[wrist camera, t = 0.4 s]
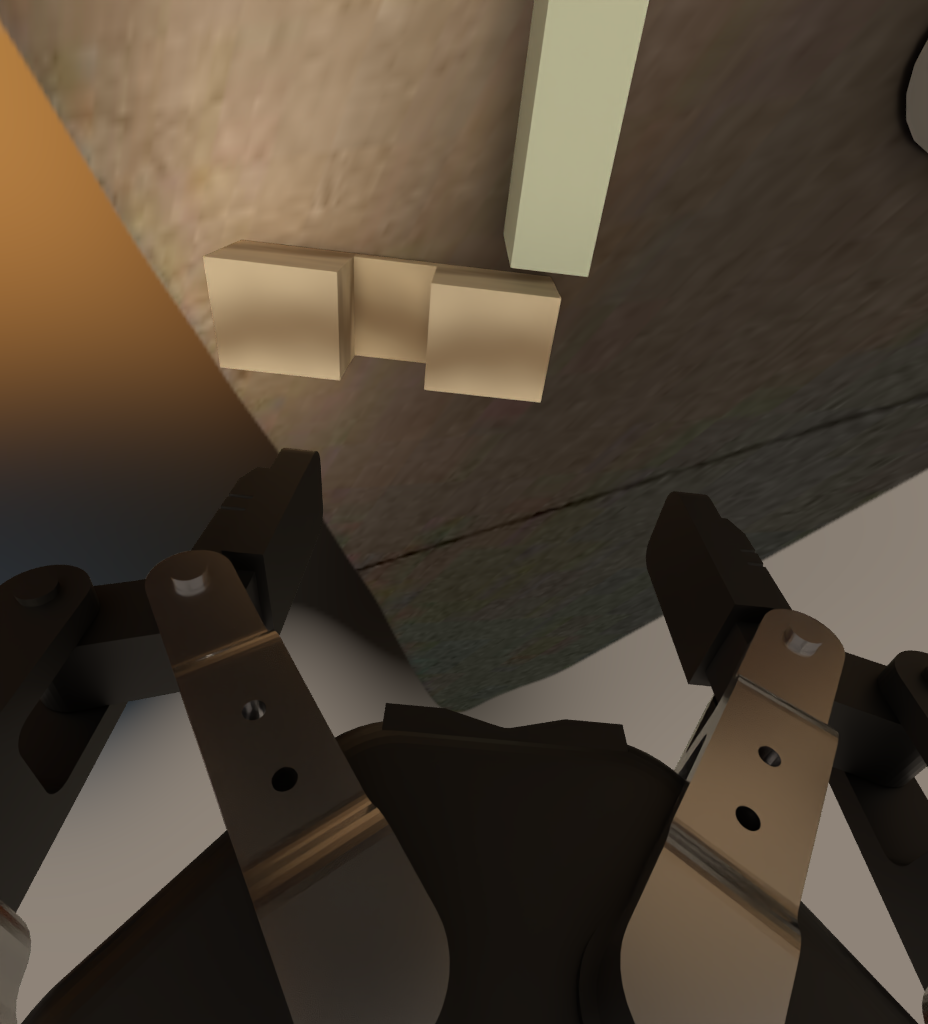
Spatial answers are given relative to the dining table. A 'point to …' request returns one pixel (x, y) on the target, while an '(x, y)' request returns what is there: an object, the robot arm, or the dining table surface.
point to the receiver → (381, 317)
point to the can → (919, 100)
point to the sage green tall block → (569, 129)
